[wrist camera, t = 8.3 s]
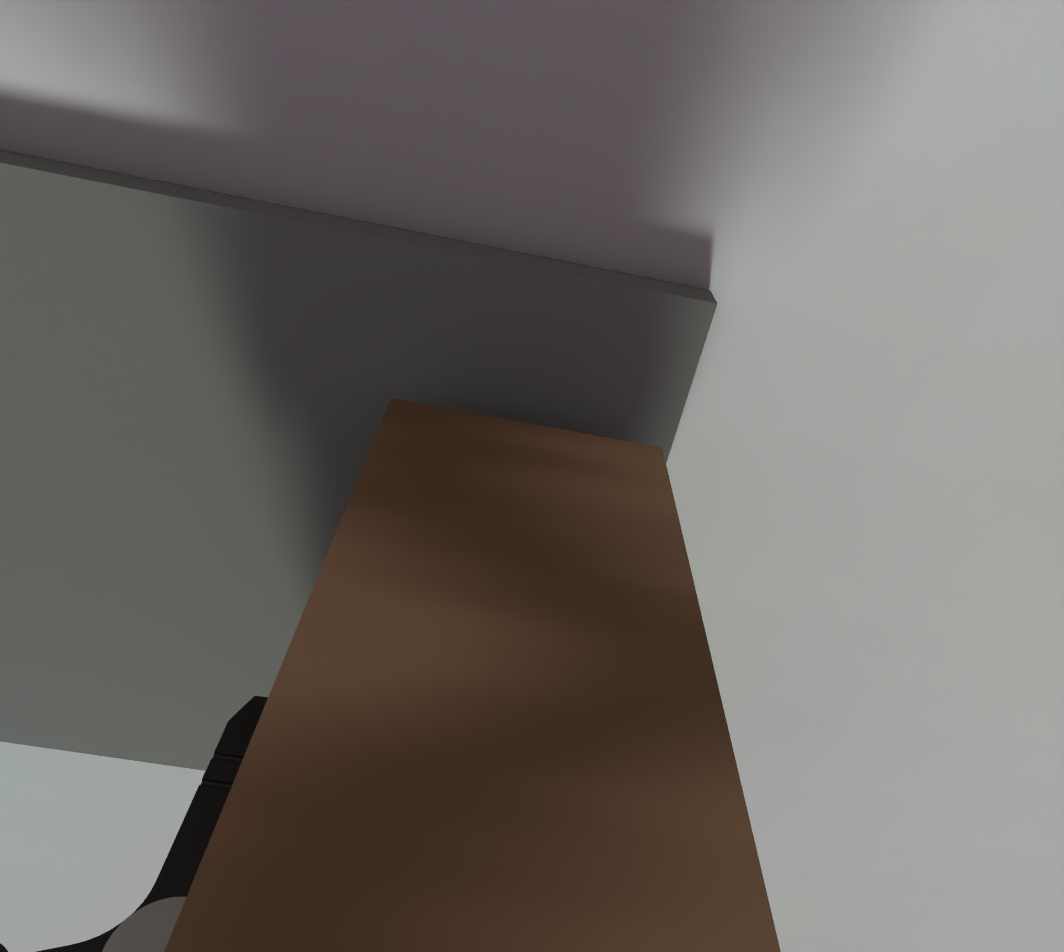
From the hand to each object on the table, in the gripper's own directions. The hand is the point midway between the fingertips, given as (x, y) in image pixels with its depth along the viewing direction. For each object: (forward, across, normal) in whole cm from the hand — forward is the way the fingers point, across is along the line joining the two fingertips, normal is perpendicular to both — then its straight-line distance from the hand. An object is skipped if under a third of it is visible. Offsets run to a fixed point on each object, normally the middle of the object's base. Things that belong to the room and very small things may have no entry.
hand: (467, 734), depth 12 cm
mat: (+3, +4, 0) cm, 5 cm away
